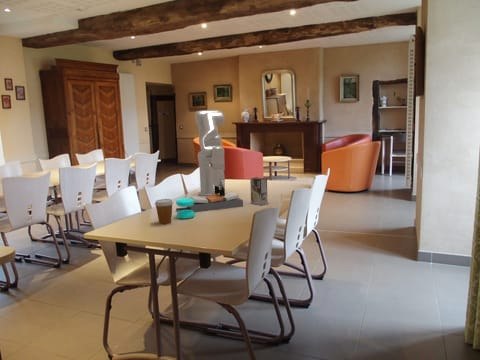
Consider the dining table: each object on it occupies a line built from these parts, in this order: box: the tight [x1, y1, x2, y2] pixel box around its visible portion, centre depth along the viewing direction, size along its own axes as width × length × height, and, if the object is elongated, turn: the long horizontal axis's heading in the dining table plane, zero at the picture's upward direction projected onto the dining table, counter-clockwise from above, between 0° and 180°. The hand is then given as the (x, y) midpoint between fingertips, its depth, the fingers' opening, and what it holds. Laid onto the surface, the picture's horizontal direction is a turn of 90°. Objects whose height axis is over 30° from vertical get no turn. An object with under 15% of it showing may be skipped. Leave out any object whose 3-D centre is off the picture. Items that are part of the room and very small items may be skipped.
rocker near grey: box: [190, 195, 208, 203], centre depth 241 cm, size 10×8×2 cm
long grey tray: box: [175, 197, 244, 213], centre depth 243 cm, size 13×40×5 cm, turn 112°
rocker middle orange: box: [205, 193, 223, 203], centre depth 244 cm, size 10×8×2 cm
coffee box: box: [250, 176, 268, 206], centre depth 250 cm, size 9×6×16 cm
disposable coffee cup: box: [154, 198, 174, 225], centre depth 211 cm, size 10×10×12 cm
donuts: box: [175, 197, 196, 220], centre depth 223 cm, size 10×10×10 cm
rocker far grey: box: [223, 191, 240, 201], centre depth 248 cm, size 10×8×2 cm
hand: (219, 194), depth 245 cm, fingers open, 9 cm apart
